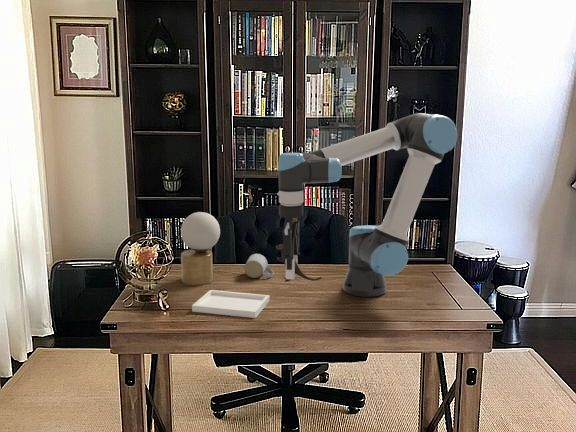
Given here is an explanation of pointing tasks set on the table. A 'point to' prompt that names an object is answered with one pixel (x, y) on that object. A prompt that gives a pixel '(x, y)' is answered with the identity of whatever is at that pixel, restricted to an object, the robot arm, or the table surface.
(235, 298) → the tray
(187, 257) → the lamp
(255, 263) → the ceramic mug
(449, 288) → the table surface
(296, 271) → the dinosaur model
